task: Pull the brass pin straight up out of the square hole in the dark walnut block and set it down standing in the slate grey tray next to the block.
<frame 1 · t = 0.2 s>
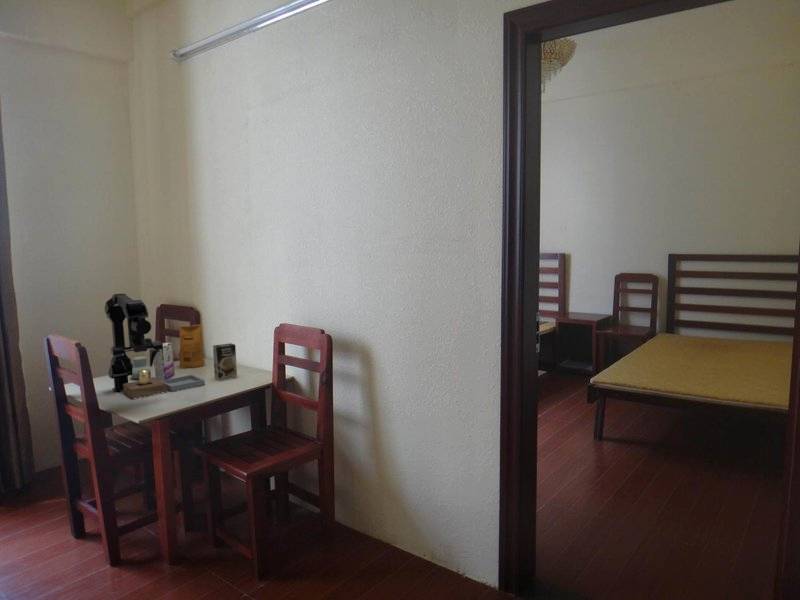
hand: (139, 368, 227), 14 cm above the table, tool pointing down, fingers open, 9 cm apart
pin: (144, 381, 242), in the hitch block
hitch block: (145, 392, 242), on the table
coffee box: (226, 378, 264), on the table
coffee package: (192, 366, 290), on the table
tray: (182, 385, 252), on the table
air freshener: (141, 378, 269), on the table
candy bar box: (165, 378, 266), on the table
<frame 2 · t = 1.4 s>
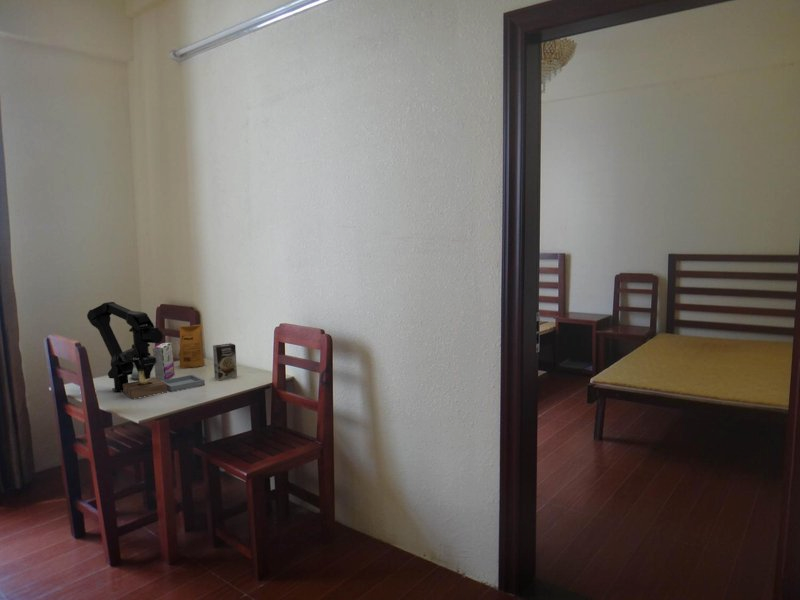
hand: (143, 376, 242), 7 cm above the table, tool pointing down, fingers open, 9 cm apart
nothing on the table moved.
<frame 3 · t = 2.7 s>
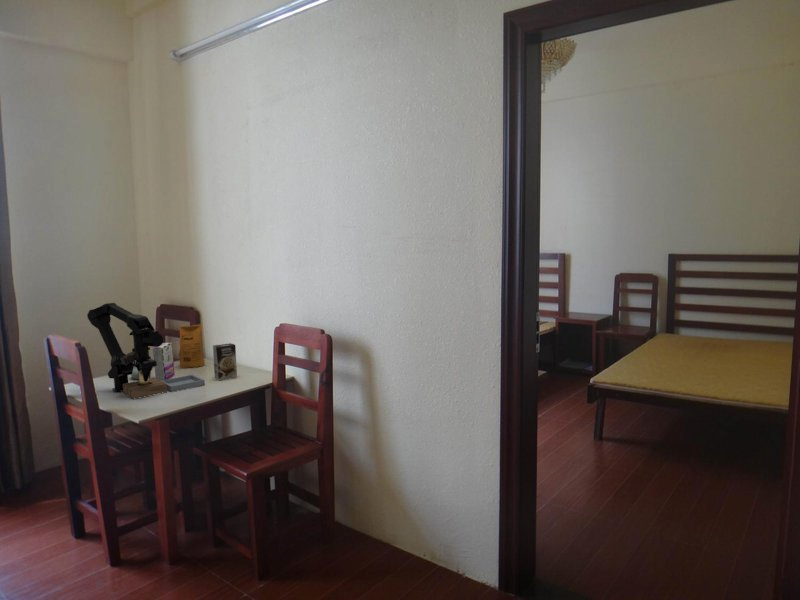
hand: (144, 380, 242), 6 cm above the table, tool pointing down, fingers closed on pin, 4 cm apart
pin: (144, 381, 242), in the hitch block, touching gripper
everything else where it was.
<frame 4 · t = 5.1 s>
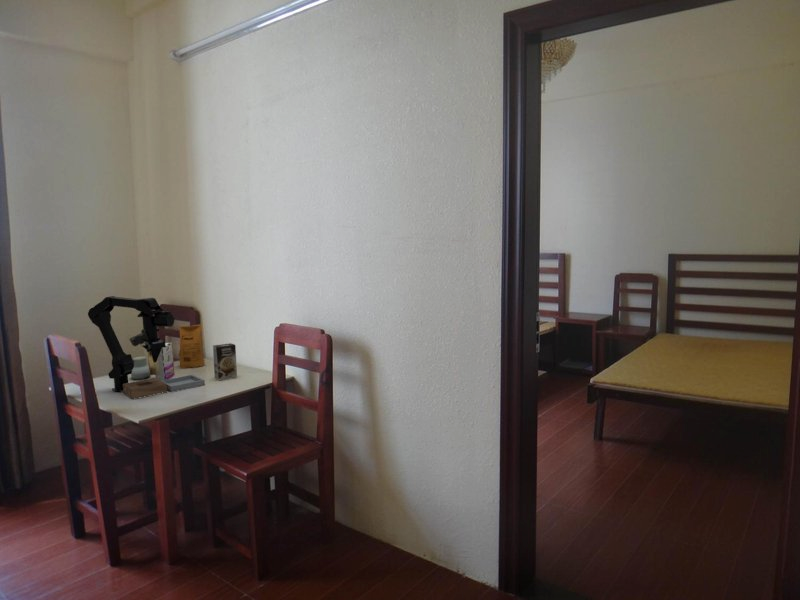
hand: (153, 361, 243), 13 cm above the table, tool pointing down, fingers closed on pin, 4 cm apart
pin: (153, 362, 243), point 13 cm above the table, touching gripper
everything else where it was.
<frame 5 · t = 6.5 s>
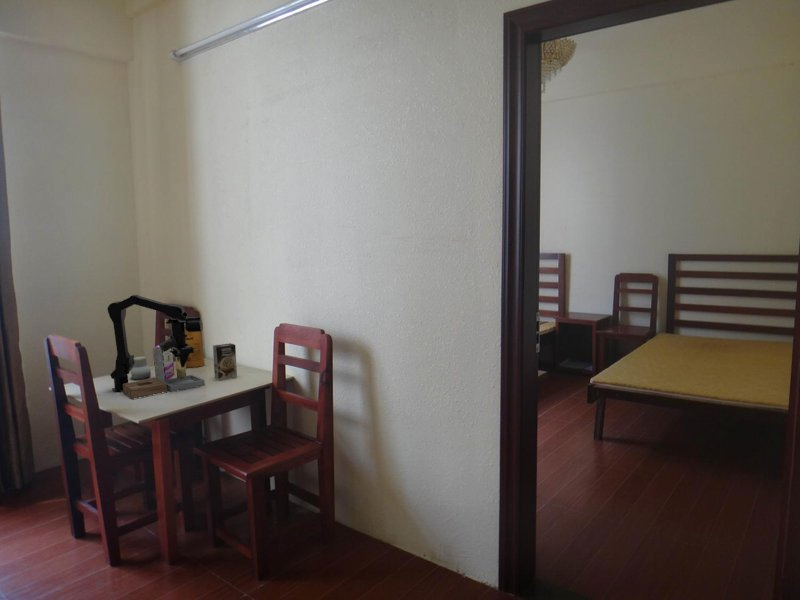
hand: (180, 366, 251), 9 cm above the table, tool pointing down, fingers closed on pin, 4 cm apart
pin: (180, 367, 251), point 8 cm above the table, touching gripper
everything else where it was.
when the fingers open (8 cm above the table, at t = 7.5 s): pin drops 1 cm, resting on tray.
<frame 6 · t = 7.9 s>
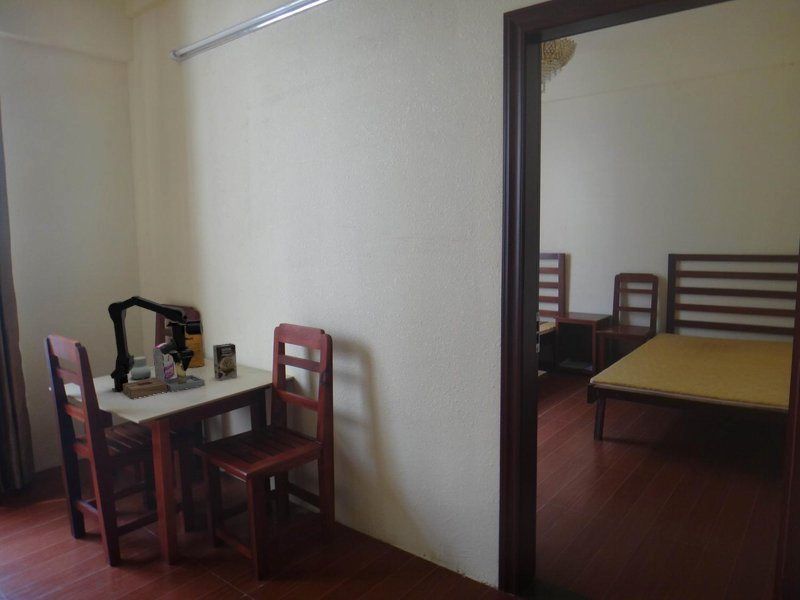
hand: (181, 369, 251), 8 cm above the table, tool pointing down, fingers open, 9 cm apart
pin: (181, 373, 251), in the tray, point 6 cm above the table
everything else where it was.
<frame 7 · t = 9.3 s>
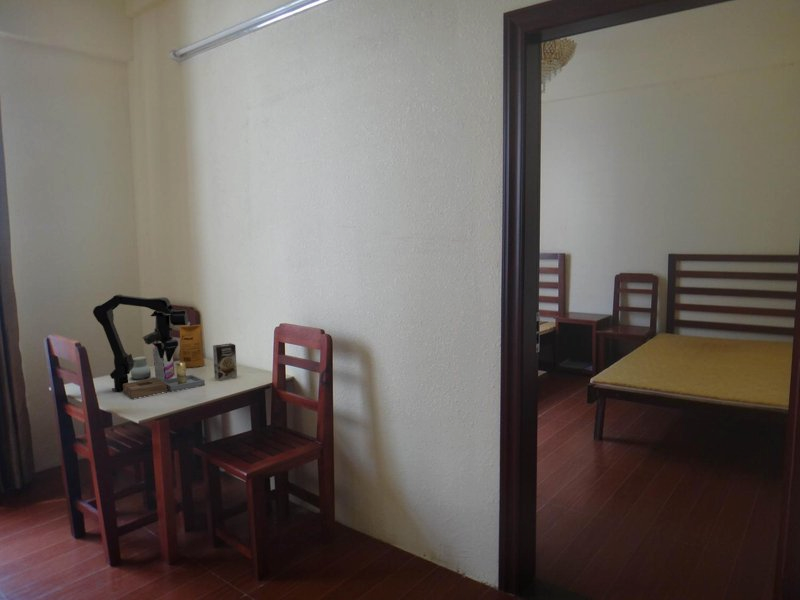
hand: (165, 359, 249), 13 cm above the table, tool pointing down, fingers open, 9 cm apart
nothing on the table moved.
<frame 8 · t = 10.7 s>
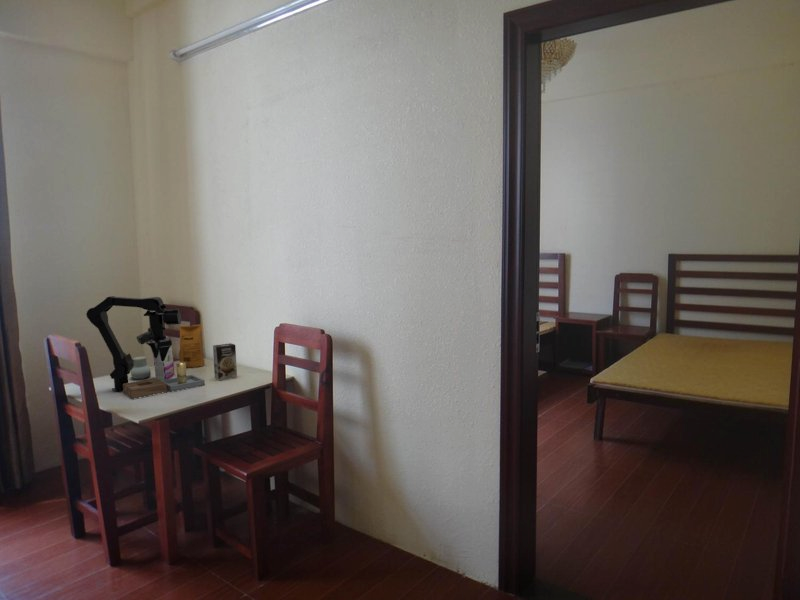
hand: (159, 359, 248), 13 cm above the table, tool pointing down, fingers open, 9 cm apart
nothing on the table moved.
at the end: pin inside the target area on the tray (0.1 cm from its centre), point 5.6 cm above the tray's base; the gripper is holding nothing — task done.
